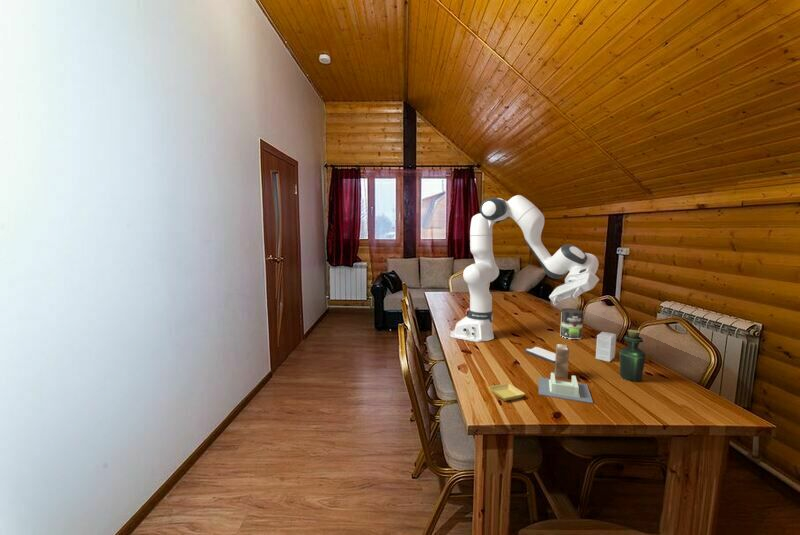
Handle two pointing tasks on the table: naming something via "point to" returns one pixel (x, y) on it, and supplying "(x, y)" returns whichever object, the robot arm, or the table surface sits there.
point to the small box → (605, 346)
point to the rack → (564, 387)
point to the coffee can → (571, 323)
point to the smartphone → (541, 354)
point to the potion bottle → (632, 357)
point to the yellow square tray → (506, 391)
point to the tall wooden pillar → (561, 361)
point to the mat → (545, 391)
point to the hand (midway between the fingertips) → (564, 301)
